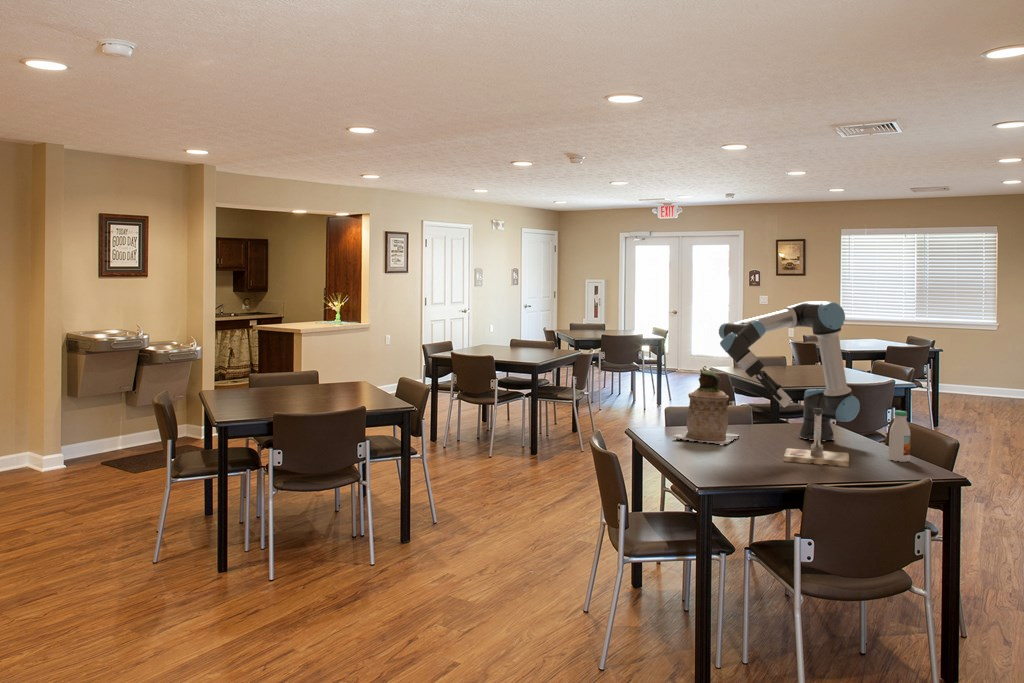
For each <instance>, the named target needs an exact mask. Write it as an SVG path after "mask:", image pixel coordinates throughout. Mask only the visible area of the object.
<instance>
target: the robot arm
mask: <svg viewBox="0 0 1024 683" xmlns="http://www.w3.org/2000/svg"><path fill="white" fill-rule="evenodd" d="M845 322H846V314H845V311H844V309H843V307H842V306H841V304H838V303H837V302H835V301H829V300H827V301H825V300H823V301H822V300H821V301H820V300H819V301H818V300H815V301H814V300H813V301H812V300H809V301H808V300H807V301H803V302H799V303H796V304H792V305H788V306H786V307H784V308H783V309H782V310H779V311H774V312H771V313H767V314H764V315H759V316H756V317H755V316H754V317H752V318H747V319H743V320H739V321H735V322H725V323H723V324H721V325H720V326H719V328H718V335H719V337H720V338H721V339H722V340H721V341H720V343H719V345H720V347H721V348H722V349H723V350H724V352H725V353H726V354H728V355H729V357H731V359H732V360H733V361H735V363H736V364H737V367H738V368H741V370H744V371H745V374H747V376H748V377H749V378H753V377H755V378H756V379H757V381H759V382H760V384H761V386H763V387H764V389H765V390H766V391H767V392H768V393H769V396H770V398H772V397H773V398H774V399H775V400H776V401H777V402H778V403H779V404H780V405H781V406H782V407H783V408H786V407H787V406H788V405H790V402H791V401H792V400H793V399H792V398H791V397H790V396H789V395H788V394H787V392H785V391H784V390H783V389H782V385H781V384H778V383H777V382H776V381H775V380H774V379H773V378H771V376H770V375H769V374H768V373H767V372H765V371H764V370H762V369H763V368H764V367H765V365H764V363H763V362H762V361H761V360H760V359H758V357H757V355H755V353H754V352H752V351H751V350H750V347H751V346H752V345H754V344H755V343H756V342H757V341H758V340H760V339H761V338H762V337H763V336H764V335H765V334H766V333H768V332H771V331H775V330H779V329H784V328H789V329H793V328H796V327H799V328H801V327H802V328H811V329H812V335H814V336H815V337H817V342H818V347H819V354H820V360H821V365H822V371H823V376H824V384H825V388H814V389H812V388H811V389H810V388H809V389H806V390H805V391H804V394H803V395H804V396H803V421H802V424H801V427H800V428H799V432H798V437H799V436H801V437H803V438H807V439H813V440H814V421H815V413H814V408H821V409H823V413H822V419H821V440H832V439H834V440H835V435H834V431H833V428H832V424H831V420H833V421H838V422H845V423H847V422H852V421H853V420H854V419H856V418H857V415H858V414H859V412H860V409H861V408H860V406H861V405H860V404H861V403H860V401H859V399H858V398H857V397H856V396H854V395H853V391H852V388H851V387H850V386H848V384H847V378H846V373H845V367H844V361H843V355H842V348H841V343H840V337H839V334H840V333H841V332H842V327H843V326H844V323H845Z"/></svg>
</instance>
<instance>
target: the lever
mask: <svg viewBox="0 0 1024 683" xmlns="http://www.w3.org/2000/svg"><path fill="white" fill-rule="evenodd" d="M814 413H815V421H814V441H813V444H814V447H820V445H822V443H821V442H822V441H821V419H822V413H823V409H821V408H814Z"/></svg>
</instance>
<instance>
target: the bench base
mask: <svg viewBox="0 0 1024 683" xmlns="http://www.w3.org/2000/svg"><path fill="white" fill-rule="evenodd" d="M810 445H811V446H810V449H802V448H790V447H789V448H786V449H785V452H784V455H783V461H784V462H787V463H788V462H790V463H801V464H811V463H814V465H823V464H829V465H828V466H834V465H838V467H848V468H849V467H850V456H849V454H850V453H849V452H837V451H828V450H827V451H825V450H824V445H823V444H821V445H820V447H814V443H812V444H810Z"/></svg>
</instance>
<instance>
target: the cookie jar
mask: <svg viewBox="0 0 1024 683" xmlns="http://www.w3.org/2000/svg"><path fill="white" fill-rule="evenodd" d="M699 371H700V374H699V378H698V382H699V387H698V388H697V389H695V390H694V391H693V392H689V393H688V398H689V405H688V411H687V415H686V429H687V430H685V431H684V433H685V432H687V434H681V433H677V434H673V438H674V439H675V438H677V440H680V439H682V440H681V441H686V440H689V441H688V442H694V441H698V442H697V443H703V442H707V443H706V444H709V443H715V444H723V445H724V446H725V445H728V444H730V442H731V441H733V440H726V438H727V437H726V436H740V435H739V434H736V433H727V430H728V425H729V419H728V401H729V398H730V396H729V395H727V394H726V392H724V391H723V390H720V388H719V384H720V383H721V382H722V379H721V376H719V375H718V374H717V373H716V372H715V371H713V370H703V369H702V368H701V369H699ZM733 442H734V441H733ZM731 443H732V442H731ZM715 444H714V445H715Z"/></svg>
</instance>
